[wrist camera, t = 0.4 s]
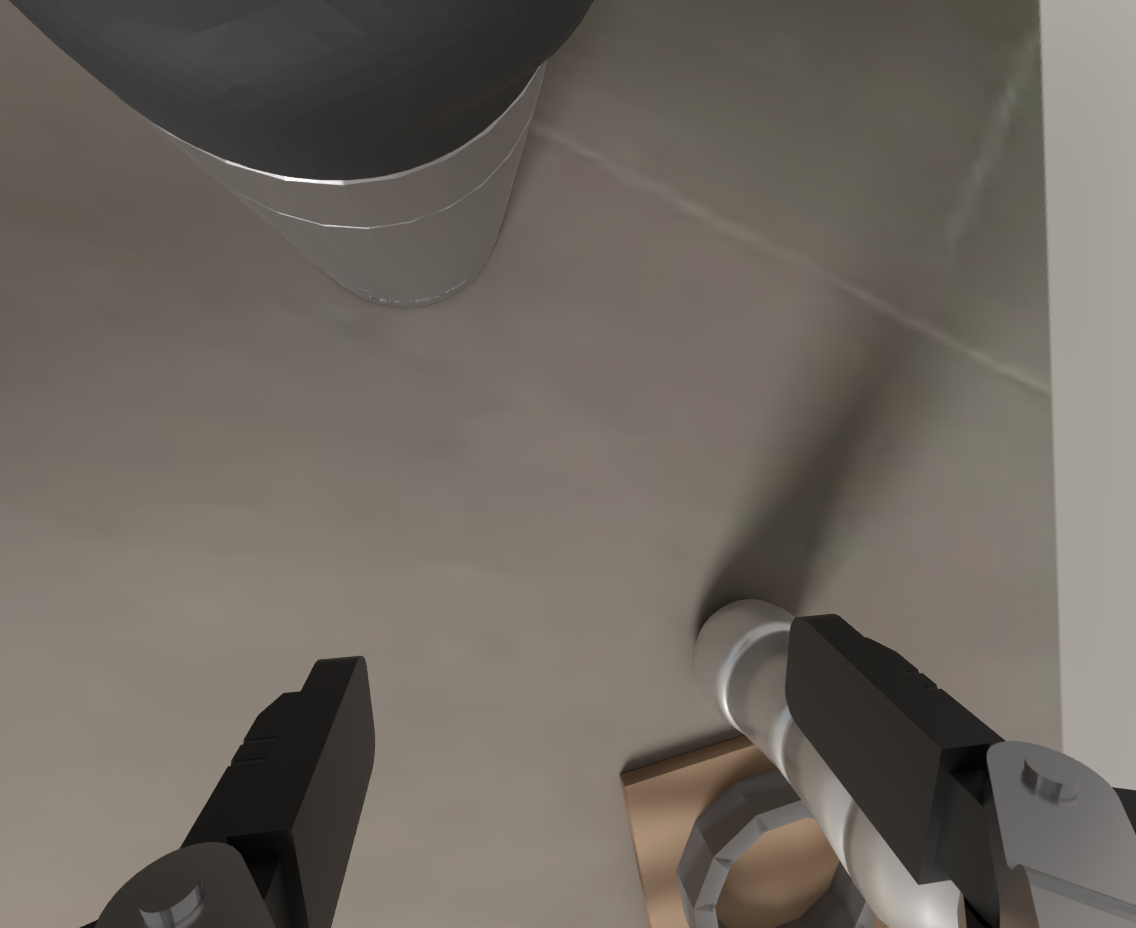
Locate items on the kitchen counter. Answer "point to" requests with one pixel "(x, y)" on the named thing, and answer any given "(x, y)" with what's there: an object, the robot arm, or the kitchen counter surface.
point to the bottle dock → (753, 872)
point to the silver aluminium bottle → (806, 758)
